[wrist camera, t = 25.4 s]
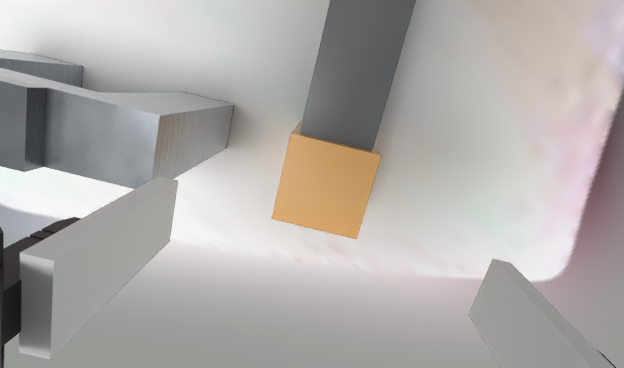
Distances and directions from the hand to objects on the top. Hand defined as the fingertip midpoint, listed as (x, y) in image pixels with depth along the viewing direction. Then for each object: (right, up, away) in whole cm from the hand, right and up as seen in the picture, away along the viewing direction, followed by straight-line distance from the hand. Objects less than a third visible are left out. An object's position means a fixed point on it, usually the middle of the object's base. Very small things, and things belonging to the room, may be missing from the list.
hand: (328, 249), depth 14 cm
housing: (-17, +10, +17) cm, 26 cm away
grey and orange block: (+2, +12, +16) cm, 20 cm away
